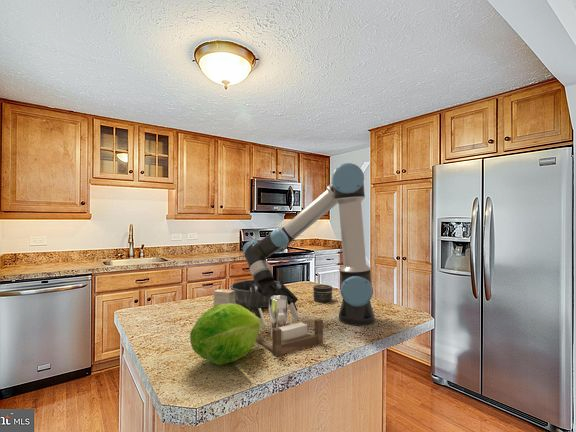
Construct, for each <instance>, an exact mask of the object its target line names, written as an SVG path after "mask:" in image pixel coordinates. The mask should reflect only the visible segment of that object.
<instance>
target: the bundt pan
mask: <svg viewBox="0 0 576 432" xmlns="http://www.w3.org/2000/svg"><path fill="white" fill-rule="evenodd" d="M274 282H275V283H276V284H277V283H280V281H278V280H277V281H276V280H274ZM252 285H254V286H256V285H255V282H254V279H246V280H241V281H237V282H233V283H231V285H229V287H230V290H235V304H238V305H241V306H243V307H244V308H246V309H247V308H248V305H249V299H250V287H251V286H252ZM277 288H278V287H277ZM280 291H281V290H280ZM276 293H277V291H276ZM259 295H260V292H258V291H257V290H256V292H255V297H254V304H253V306H255V304H256V302H257V300H258V298H259ZM269 297H270V296H266V297H265V296H263V298H262V300H261V302H260V305H259V307H258V309H259V308H266V307H269Z"/></svg>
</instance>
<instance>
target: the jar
mask: <svg viewBox="0 0 576 432" xmlns="http://www.w3.org/2000/svg"><path fill="white" fill-rule="evenodd" d="M312 290H313V292H312V295H313V300H314V302H316V303H320V304H326V303H327V304H328V303H331V302H332V300H333V286H332V285H330V284H315V285H313V289H312Z"/></svg>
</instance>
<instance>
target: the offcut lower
mask: <svg viewBox="0 0 576 432" xmlns="http://www.w3.org/2000/svg"><path fill="white" fill-rule="evenodd" d="M310 335H311V333H310V332H308V331H307V334H305V335H301V336H297V337H294V338H290V339H286V340H282V339H281V343H283V342H287V341H291V340H295V339H299V338H303V337H307V336H310Z"/></svg>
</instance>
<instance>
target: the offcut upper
mask: <svg viewBox="0 0 576 432" xmlns="http://www.w3.org/2000/svg"><path fill="white" fill-rule="evenodd" d="M290 324H291V325H287V326H283V327H279V328H280V329H281V339H282V340H286V339H290V338H294V337H297V336H301V335H305V334H307V332H308V324H307V323H303V322H302V321H300V322H297V323H296V322H295V323H290Z"/></svg>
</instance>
